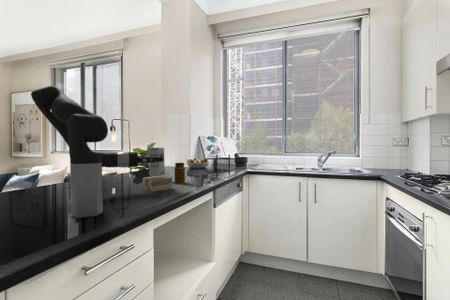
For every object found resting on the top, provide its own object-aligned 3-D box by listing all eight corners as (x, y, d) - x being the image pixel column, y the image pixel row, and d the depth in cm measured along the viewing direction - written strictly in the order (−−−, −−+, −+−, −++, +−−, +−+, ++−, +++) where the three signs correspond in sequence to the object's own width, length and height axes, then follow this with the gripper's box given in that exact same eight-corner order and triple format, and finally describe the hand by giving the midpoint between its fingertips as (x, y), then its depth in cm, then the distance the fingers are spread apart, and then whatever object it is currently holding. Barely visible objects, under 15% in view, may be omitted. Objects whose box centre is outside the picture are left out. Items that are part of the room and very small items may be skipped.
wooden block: (172, 189, 125) (172, 177, 124) (152, 192, 117) (152, 180, 117) (161, 186, 132) (161, 175, 132) (142, 189, 125) (142, 177, 124)
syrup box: (159, 176, 121) (159, 147, 120) (148, 175, 122) (149, 147, 122) (164, 174, 126) (164, 147, 126) (154, 174, 128) (154, 147, 127)
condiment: (187, 183, 142) (187, 162, 141) (175, 184, 136) (175, 163, 135) (180, 181, 147) (180, 162, 147) (168, 183, 141) (168, 163, 141)
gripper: (129, 152, 111) (164, 152, 119) (125, 151, 123) (157, 151, 131) (129, 168, 111) (164, 167, 119) (125, 166, 123) (157, 164, 131)
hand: (160, 158), depth 125 cm, fingers closed on syrup box, 7 cm apart
